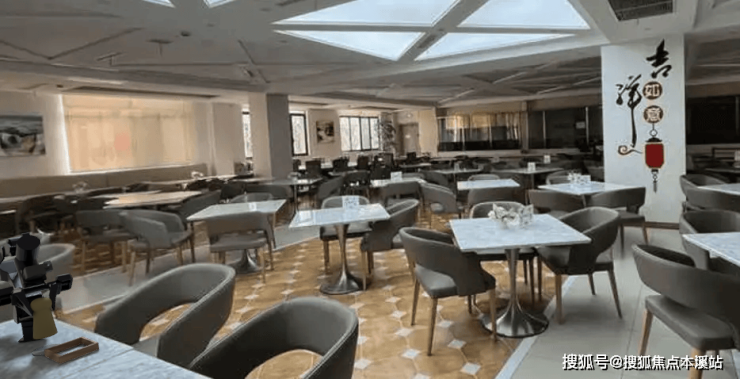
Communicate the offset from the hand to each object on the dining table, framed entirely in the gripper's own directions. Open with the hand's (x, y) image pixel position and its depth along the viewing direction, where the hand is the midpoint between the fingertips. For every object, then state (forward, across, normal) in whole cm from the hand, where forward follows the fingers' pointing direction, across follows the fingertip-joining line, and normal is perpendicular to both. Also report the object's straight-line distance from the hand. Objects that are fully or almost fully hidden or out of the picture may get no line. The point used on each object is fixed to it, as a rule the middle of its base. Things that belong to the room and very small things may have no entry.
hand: (43, 312), depth 137 cm
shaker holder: (+14, +4, +3) cm, 15 cm away
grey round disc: (+8, 0, +9) cm, 12 cm away
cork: (+4, 0, +6) cm, 7 cm away
